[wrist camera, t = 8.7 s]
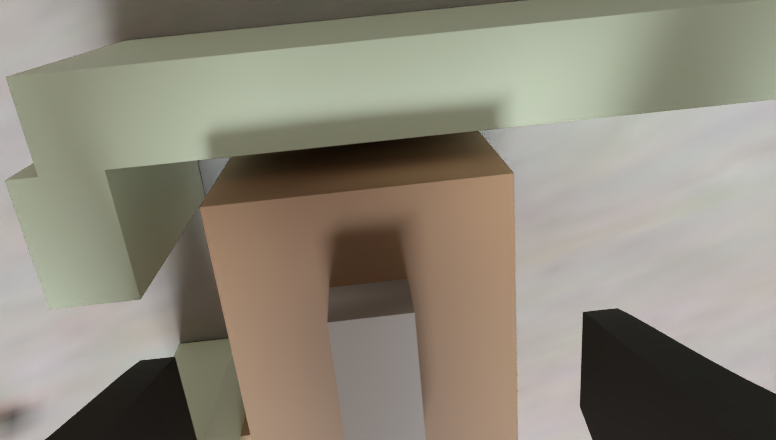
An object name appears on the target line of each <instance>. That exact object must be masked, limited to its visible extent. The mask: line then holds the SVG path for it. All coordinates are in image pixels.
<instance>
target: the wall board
mask: <svg viewBox="0 0 776 440" xmlns="http://www.w3.org/2000/svg"><path fill="white" fill-rule="evenodd" d="M6 79H7V83H8V86H9V89H10V92H11V95H12V98H13V101H14V104H15V107H16V110H17V113H18V116H19V120H20V123H21V126H22V129H23V132H24V135H25V138H26V141H27V144H28V147H29V150H30V153H31V157H32V160H33V164H31V165H30V166H28V167H26V168H25V169H23V170H21V171H20V172H18V173H16V174H15V175H13V176H12V177H10V178H8V179H7V180H5V182H6V185H7V188H8V191H9V194H10V197H11V200H12V203H13V206H14V208H15V211H16V214H17V217H18V220H19V223H20V226H21V229H22V231H23V234H24V237H25V240H26V243H27V246H28V249H29V252H30V255H31V257H32V260H33V263H34V266H35V269H36V272H37V275H38V278H39V280H40V283H41V286H42V289H43V292H44V295H45V298H46V301H47V304H48V306H49V309H58V308H67V307H76V306H85V305H94V304H103V303H112V302H121V301H130V300H139V299H141V298H142V296H143V295H144V293H145V292H146V290H147V288H148V287H149V285H150V284H151V282H152V281H153V279H154V277H155V276H156V274H157V273H158V271H159V269H160V268H161V266H162V265H163V263H164V262H165V260H166V258H167V257H168V255H169V254H170V252H171V250H172V249H173V247H174V246H175V244H176V243H177V241H178V239H179V238H180V236H181V235H182V233H183V231H184V230H185V228H186V227H187V225H188V223H189V222H190V220H191V219H192V217H193V216H194V214H195V212H196V211H197V209H198V208H199V206H200V204H201V203H202V201H203V200H204V198H205V194H204V189H203V184H202V180H201V175H200V171H199V166H198V162H197V160H205V159H214V158H224V157H233V156H243V155H252V154H262V153H271V152H281V151H290V150H300V149H309V148H319V147H328V146H338V145H347V144H357V143H366V142H376V141H385V140H395V139H404V138H414V137H423V136H433V135H442V134H452V133H461V132H471V131H480V130H489V129H499V128H508V127H518V126H527V125H537V124H546V123H556V122H565V121H575V120H584V119H594V118H603V117H613V116H622V115H632V114H641V113H651V112H660V111H670V110H679V109H689V108H698V107H708V106H717V105H727V104H736V103H746V102H755V101H765V100H774V99H776V0H525V1H515V2H505V3H495V4H485V5H475V6H465V7H455V8H445V9H435V10H425V11H415V12H405V13H395V14H385V15H375V16H366V17H356V18H346V19H336V20H326V21H316V22H306V23H296V24H286V25H276V26H266V27H256V28H246V29H236V30H226V31H216V32H206V33H196V34H187V35H177V36H167V37H157V38H147V39H137V40H127V41H122V42H118V43H115V44H112V45H109V46H105V47H102V48H99V49H96V50H92V51H89V52H86V53H83V54H79V55H76V56H73V57H70V58H66V59H63V60H60V61H57V62H53V63H50V64H47V65H43V66H40V67H37V68H34V69H30V70H27V71H24V72H21V73H17V74H14V75H11V76H8V77H6ZM174 357H175V358H176V362H177V366H178V370H179V373H180V377H181V381H182V385H183V389H184V392H185V396H186V400H187V404H188V408H189V411H190V415H191V419H192V423H193V426H194V430H195V434H196V438H197V440H251V435H250V431H249V426H248V422H247V417H246V413H245V408H244V404H243V400H242V395H241V391H240V386H239V382H238V377H237V373H236V368H235V364H234V360H233V355H232V351H231V346H230V342H229V338H228V339H219V340H210V341H201V342H192V343H183V344H179V346H178V348H177V350H176V353H175V355H174Z"/></svg>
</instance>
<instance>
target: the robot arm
mask: <svg viewBox="0 0 776 440" xmlns="http://www.w3.org/2000/svg"><path fill="white" fill-rule="evenodd" d="M580 408H581V410H582V413H583V416H584V418H585V421H586V424H587V426H588V429H589V432H590V434H591V437H592V439H593V440H776V394H775V393H773V392H771V391H769V390H767V389H765V388H763V387H761V386H758V385H756V384H754V383H752V382H750V381H748V380H746V379H744V378H743V377H741V376H739V375H737V374H735V373H733V372H731V371H729V370H727V369H725V368H724V367H722V366H720V365H718V364H716V363H714V362H713V361H711V360H709V359H707V358H705V357H704V356H702V355H700V354H698V353H696V352H695V351H693V350H691V349H689V348H688V347H686V346H684V345H682V344H681V343H679V342H677V341H675V340H674V339H672V338H670V337H668V336H667V335H665V334H663V333H662V332H660V331H658V330H656V329H655V328H653V327H651V326H649V325H648V324H646V323H644V322H642V321H641V320H639V319H637V318H635V317H633V316H632V315H630V314H628V313H626V312H624V311H622V310H620V309H618V308H616V309H607V310H598V311H589V312H583V329H582V360H581V391H580ZM45 440H197V438H196V434H195V430H194V426H193V423H192V419H191V415H190V411H189V408H188V404H187V400H186V396H185V392H184V389H183V385H182V381H181V377H180V373H179V370H178V366H177V362H176V358H175V357H169V358H160V359H151V360H141V361H139V362H138V363H136V364H135V365H134V366H132V367H131V368H130V369H128V370H127V371H126V372H125V373H123V374H122V375H121V376H120V377H119V378H117V379H116V380H115V381H114V382H113V383H111V384H110V385H109V386H108V387H107V388H106V389H104V390H103V391H102V392H101V393H100V394H99V395H97V396H96V397H95V398H94V399H93V400H92V401H90V402H89V403H88V404H87V405H86V406H85V407H83V408H82V409H81V410H80V411H79V412H77V413H76V414H75V415H74V416H73V417H72V418H70V419H69V420H68V421H67V422H66V423H64V424H63V425H62V426H61V427H60V428H59V429H57V430H56V431H55V432H54V433H53V434H51V435H50V436H49V437H48V438H47V439H45Z"/></svg>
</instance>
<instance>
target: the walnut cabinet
mask: <svg viewBox="0 0 776 440" xmlns="http://www.w3.org/2000/svg"><path fill="white" fill-rule="evenodd" d="M199 208H200V213H201V217H202V222H203V226H204V231H205V235H206V239H207V244H208V248H209V253H210V257H211V262H212V266H213V271H214V275H215V279H216V284H217V288H218V293H219V297H220V302H221V306H222V311H223V315H224V319H225V324H226V328H227V333H228V337H229V342H230V346H231V351H232V355H233V360H234V364H235V368H236V373H237V377H238V382H239V386H240V391H241V395H242V400H243V404H244V408H245V413H246V417H247V422H248V426H249V431H250V435H251V440H518V419H517V352H516V284H515V217H514V173H513V172H512V170H511V169H510V168H509V167H508V166H507V165H506V163H505V162H504V161H503V160H502V159H501V157H500V156H499V155H498V154H497V153H496V151H495V150H494V149H493V148H492V147H491V145H490V144H489V143H488V142H487V141H486V139H485V138H484V137H483V136H482V135H481V133H480V132H479V131H471V132H461V133H452V134H442V135H433V136H423V137H414V138H404V139H395V140H385V141H376V142H366V143H357V144H347V145H338V146H328V147H319V148H309V149H300V150H290V151H281V152H271V153H262V154H252V155H243V156H233V157H230V159H229V161H228V162H227V164H226V165H225V167H224V169H223V170H222V172H221V173H220V175H219V177H218V178H217V180H216V182H215V183H214V185H213V186H212V188H211V190H210V191H209V193H208V194H207V196H206V198H205V199H204V201H203V202H202V204H201V206H200V207H199Z"/></svg>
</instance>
